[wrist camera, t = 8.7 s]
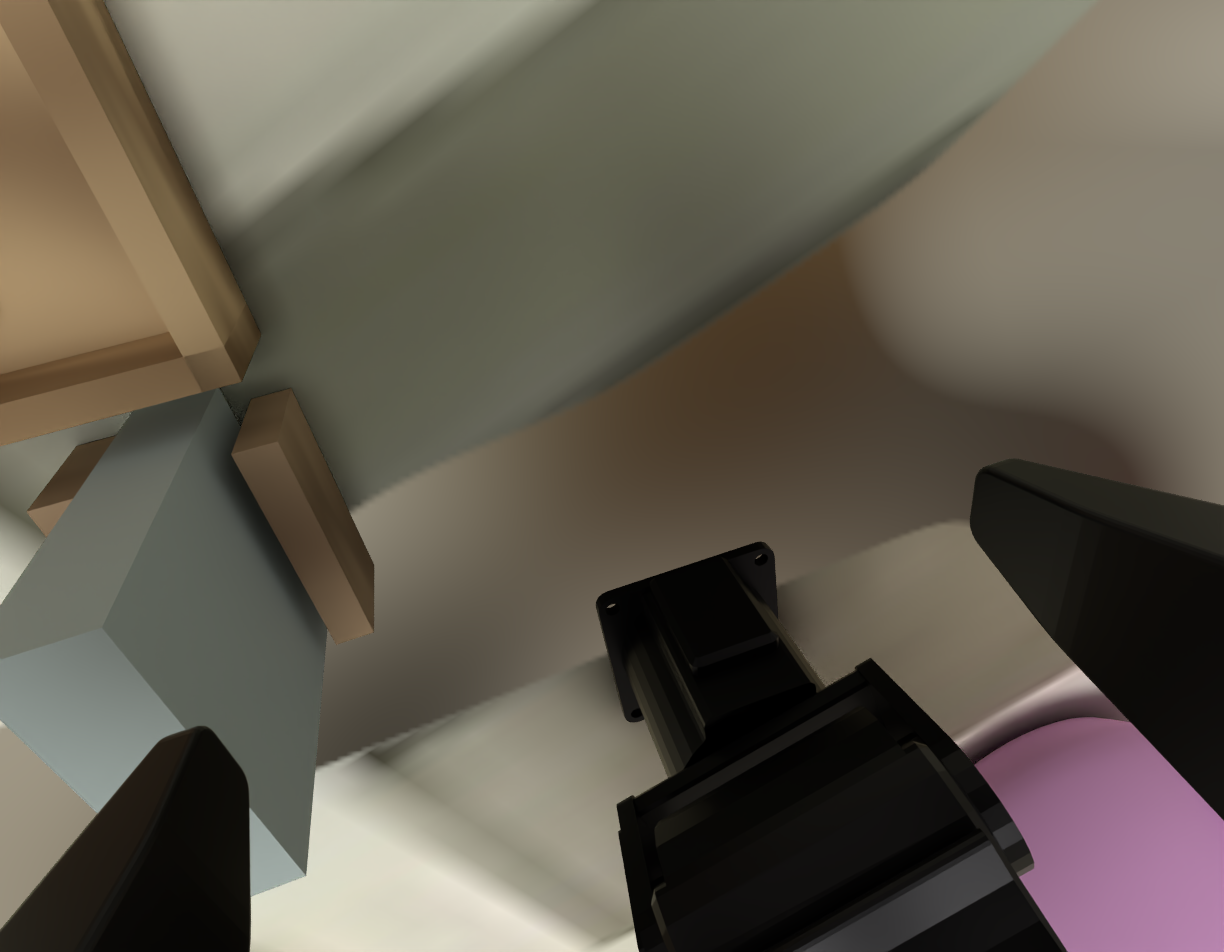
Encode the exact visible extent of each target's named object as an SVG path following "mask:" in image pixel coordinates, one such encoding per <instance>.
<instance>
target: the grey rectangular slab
mask: <svg viewBox="0 0 1224 952" xmlns="http://www.w3.org/2000/svg"><path fill="white" fill-rule="evenodd" d="M240 428H241V427H240V425H239V423H238V421H237V420H236V418H235V416H234V414H233V412H232V410H231V409H230V407H229V405H228V403H227V401H226V400H225V398H224V396H223V394H222V392H221V390H220V389H219V388H217V389H213V390H209V391H206V392H202V393H198V394H194V395H191V396H187V397H183V398H179V399H176V400H172V401H168V402H164V403H160V404H157V405H153V406H149V407H145V408H142V409H138V410H134V411H133V412H132V413H131V415H130V416H129V418H128V419H127V420H126V422H125V423H124V425H123V426H122V428H121V429H120V431H119V432H118V434H117V435H116V437H115V438H114V440H113V441H112V442H111V444H110V445H109V447H108V448H107V450H106V451H105V453H104V454H103V456H102V457H101V459H100V460H99V462H98V463H97V464H96V466H95V467H94V469H93V470H92V472H91V473H90V475H89V476H88V478H87V479H86V481H85V482H84V484H83V485H82V486H81V488H80V489H79V491H78V492H77V494H76V495H75V497H74V498H73V500H72V501H71V503H70V504H69V506H68V507H67V508H66V510H65V511H64V513H63V514H62V516H61V517H60V519H59V520H58V522H57V523H56V525H55V526H54V528H53V529H52V530H51V532H50V533H49V535H48V536H47V538H46V539H45V541H44V542H43V544H42V545H41V547H40V548H39V550H38V551H37V552H36V554H35V555H34V557H33V558H32V560H31V561H30V563H29V564H28V566H27V567H26V569H25V570H24V572H23V573H22V574H21V576H20V577H19V579H18V580H17V582H16V583H15V585H14V586H13V588H12V589H11V591H10V592H9V594H8V595H7V596H6V598H5V599H4V601H3V602H2V604H1V605H0V720H1V721H2V722H3V723H4V724H5V725H6V726H7V727H8V728H9V729H10V730H11V731H12V732H14V734H15V735H16V736H17V737H18V738H20V740H22V741H23V742H24V743H25V744H26V745H27V746H28V747H29V748H30V749H31V750H32V751H33V752H34V753H35V754H36V755H37V756H38V757H39V758H40V759H41V760H42V761H43V762H44V763H45V764H46V765H47V766H49V767H50V768H51V769H52V770H53V771H54V772H55V773H56V774H57V775H58V776H59V777H60V778H61V779H62V780H63V781H64V782H65V783H66V784H67V785H68V786H69V787H70V788H71V789H72V790H74V791H75V792H76V793H77V794H78V795H79V796H80V797H81V798H82V799H83V800H84V801H85V802H86V803H87V804H88V805H89V806H90V807H91V808H92V809H93V810H94V811H95V812H96V813H97V814H98V812H99V811H100V810H101V809H102V808H103V806H104V805H105V804H106V803H107V802H108V800H109V799H110V798H111V797H112V796H113V794H114V793H115V792H116V791H117V790H118V788H119V787H120V786H121V785H122V784H123V782H124V781H125V780H126V779H127V778H128V776H129V775H130V774H131V773H132V772H133V771H134V769H135V768H136V767H137V766H138V765H139V763H140V762H141V761H142V760H143V759H144V757H145V756H146V755H147V754H148V753H149V751H150V750H151V749H152V748H153V747H154V746H155V745H156V743H157V742H158V741H160V740H161V739H162V738H164V737H166V736H168V735H171V734H174V733H177V732H180V731H183V730H186V729H189V728H192V727H195V726H207V727H209V728H210V729H212V730H213V731H214V732H215V734H216V735H217V736H218V738H219V739H220V740H221V741H222V743H223V744H224V745H225V747H226V748H227V749H228V751H229V752H230V753H231V755H232V756H233V757H234V759H235V760H236V761H237V763H238V764H239V765H240V766H241V768H242V769H243V771H244V773H245V775H246V778H247V781H248V786H249V800H250V880H251V896H254V895H256V894H259V893H262V892H264V891H267V890H270V889H272V888H275V887H278V886H280V885H283V884H286V883H288V882H291V881H294V880H296V879H299V878H302V877H304V876H306V871H307V859H308V847H309V836H310V824H311V813H312V801H313V789H314V778H315V766H316V754H317V743H318V731H319V720H320V708H321V695H322V684H323V673H324V662H325V649H326V638H327V627H326V625H325V623H324V622H323V620H322V618H321V616H320V614H319V613H318V611H317V609H316V607H315V605H314V603H313V602H312V600H311V598H310V596H309V594H308V593H307V591H306V589H305V587H304V585H303V584H302V582H301V580H300V578H299V576H298V575H297V573H296V571H295V569H294V567H293V566H292V564H291V562H290V560H289V558H288V556H287V555H286V553H285V551H284V549H283V547H282V546H281V544H280V542H279V540H278V538H277V537H276V535H275V533H274V531H273V529H272V528H271V526H270V524H269V522H268V520H267V519H266V517H265V515H264V513H263V511H262V509H261V508H260V506H259V504H258V502H257V500H256V499H255V497H254V495H253V493H252V491H251V490H250V488H249V486H248V484H247V482H246V481H245V479H244V477H243V475H242V473H241V472H240V470H239V468H238V466H237V464H236V462H235V461H234V459H233V457H232V455H231V453H232V450H233V448H234V445H235V442H236V439H237V437H238V434H239V431H240Z"/></svg>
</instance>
